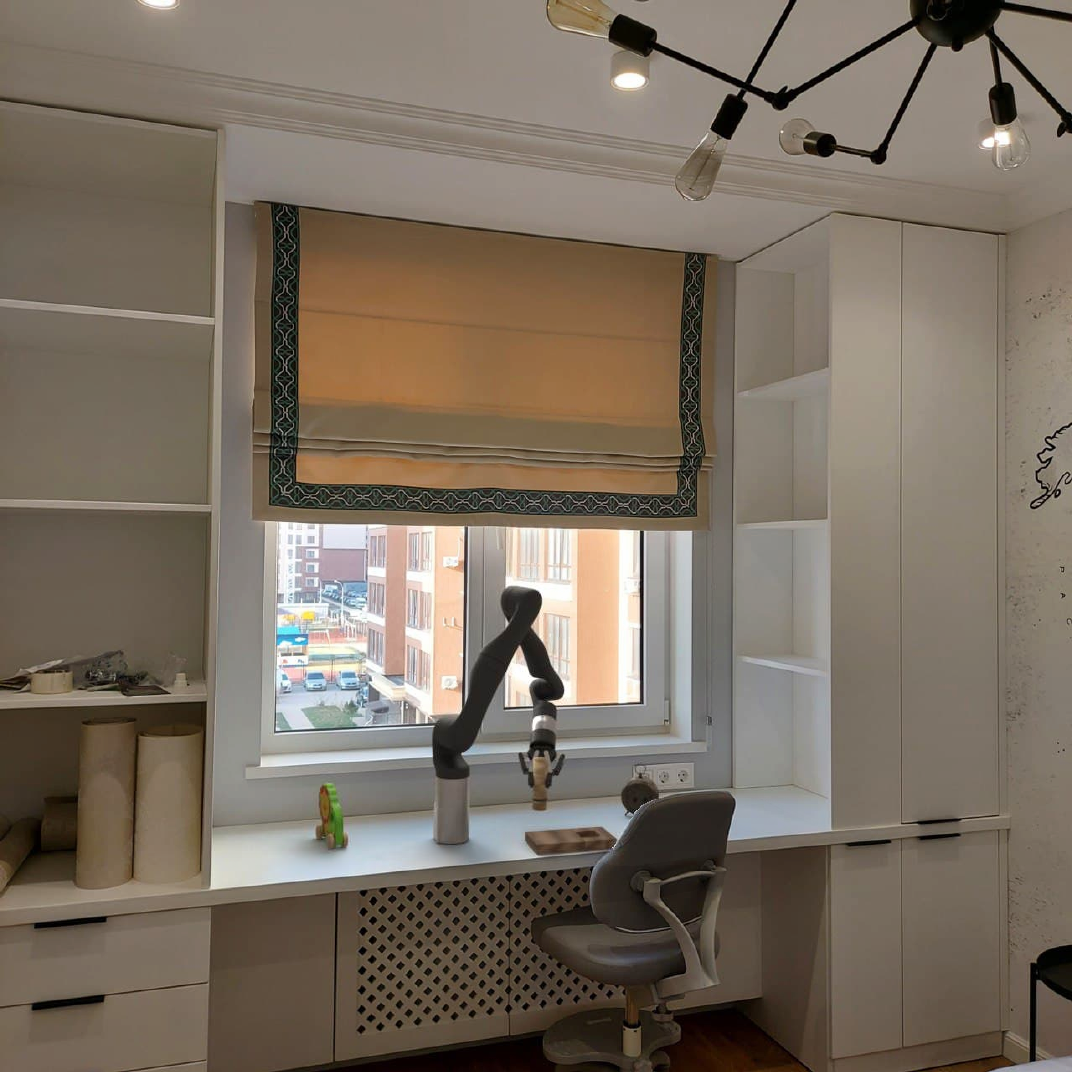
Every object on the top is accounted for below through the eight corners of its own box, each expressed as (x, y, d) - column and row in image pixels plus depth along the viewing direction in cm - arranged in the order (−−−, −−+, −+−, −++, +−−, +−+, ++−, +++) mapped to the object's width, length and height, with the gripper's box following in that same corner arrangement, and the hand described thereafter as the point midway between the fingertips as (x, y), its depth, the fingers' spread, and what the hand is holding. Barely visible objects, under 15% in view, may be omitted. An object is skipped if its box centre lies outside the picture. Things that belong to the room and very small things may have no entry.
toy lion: (349, 848, 247) (350, 790, 247) (329, 851, 244) (330, 792, 245) (331, 833, 261) (332, 777, 261) (312, 835, 258) (312, 780, 259)
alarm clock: (659, 817, 280) (659, 762, 281) (656, 822, 275) (657, 766, 275) (622, 814, 283) (623, 760, 283) (619, 819, 278) (620, 763, 278)
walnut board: (537, 854, 243) (537, 844, 243) (525, 841, 255) (525, 831, 255) (616, 848, 249) (616, 838, 249) (601, 835, 261) (601, 826, 261)
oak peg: (534, 811, 260) (535, 760, 260) (530, 807, 264) (531, 757, 264) (548, 810, 261) (549, 759, 261) (544, 806, 265) (545, 756, 265)
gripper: (518, 726, 271) (513, 778, 259) (567, 728, 270) (565, 780, 258) (519, 741, 276) (514, 793, 264) (567, 743, 275) (565, 795, 263)
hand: (539, 786), depth 261 cm, fingers closed on oak peg, 4 cm apart
